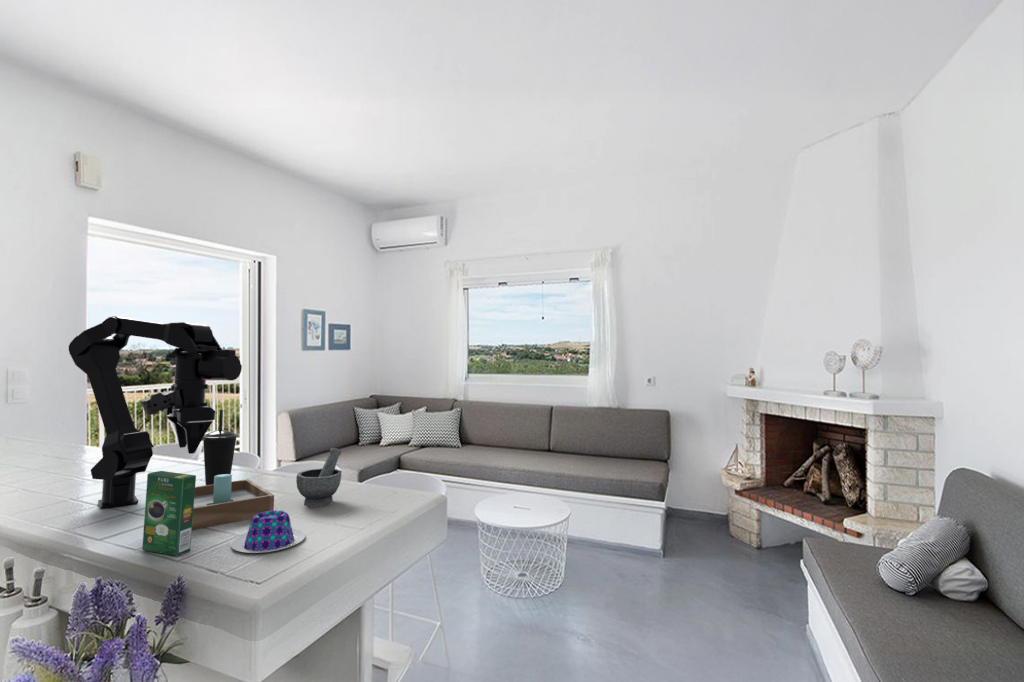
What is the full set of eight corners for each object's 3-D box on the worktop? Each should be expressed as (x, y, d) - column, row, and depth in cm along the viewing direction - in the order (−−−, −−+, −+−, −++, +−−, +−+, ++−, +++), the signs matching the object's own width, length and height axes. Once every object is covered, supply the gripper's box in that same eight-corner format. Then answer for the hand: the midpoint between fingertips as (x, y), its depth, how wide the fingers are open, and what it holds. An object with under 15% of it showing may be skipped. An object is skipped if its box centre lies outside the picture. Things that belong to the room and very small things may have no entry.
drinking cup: (223, 495, 115) (227, 411, 116) (191, 494, 115) (196, 411, 116) (241, 486, 123) (245, 408, 124) (212, 486, 123) (215, 408, 124)
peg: (210, 513, 101) (212, 475, 101) (227, 510, 103) (229, 473, 104) (214, 517, 99) (216, 478, 99) (232, 514, 101) (233, 476, 101)
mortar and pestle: (318, 511, 104) (320, 456, 104) (285, 506, 107) (288, 452, 108) (353, 498, 114) (355, 448, 115) (322, 493, 118) (324, 444, 118)
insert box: (166, 509, 103) (167, 490, 104) (247, 496, 115) (248, 479, 115) (184, 531, 91) (185, 510, 91) (273, 514, 102) (274, 495, 102)
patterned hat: (308, 529, 94) (309, 502, 94) (301, 553, 82) (302, 522, 83) (239, 535, 90) (241, 507, 90) (222, 560, 79) (223, 528, 79)
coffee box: (193, 550, 82) (197, 473, 82) (177, 557, 79) (182, 477, 79) (157, 545, 84) (161, 469, 84) (140, 551, 81) (145, 473, 82)
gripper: (138, 378, 107) (134, 448, 106) (152, 381, 94) (148, 461, 93) (196, 377, 115) (193, 443, 114) (217, 381, 102) (213, 455, 101)
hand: (186, 450), depth 105 cm, fingers open, 9 cm apart
